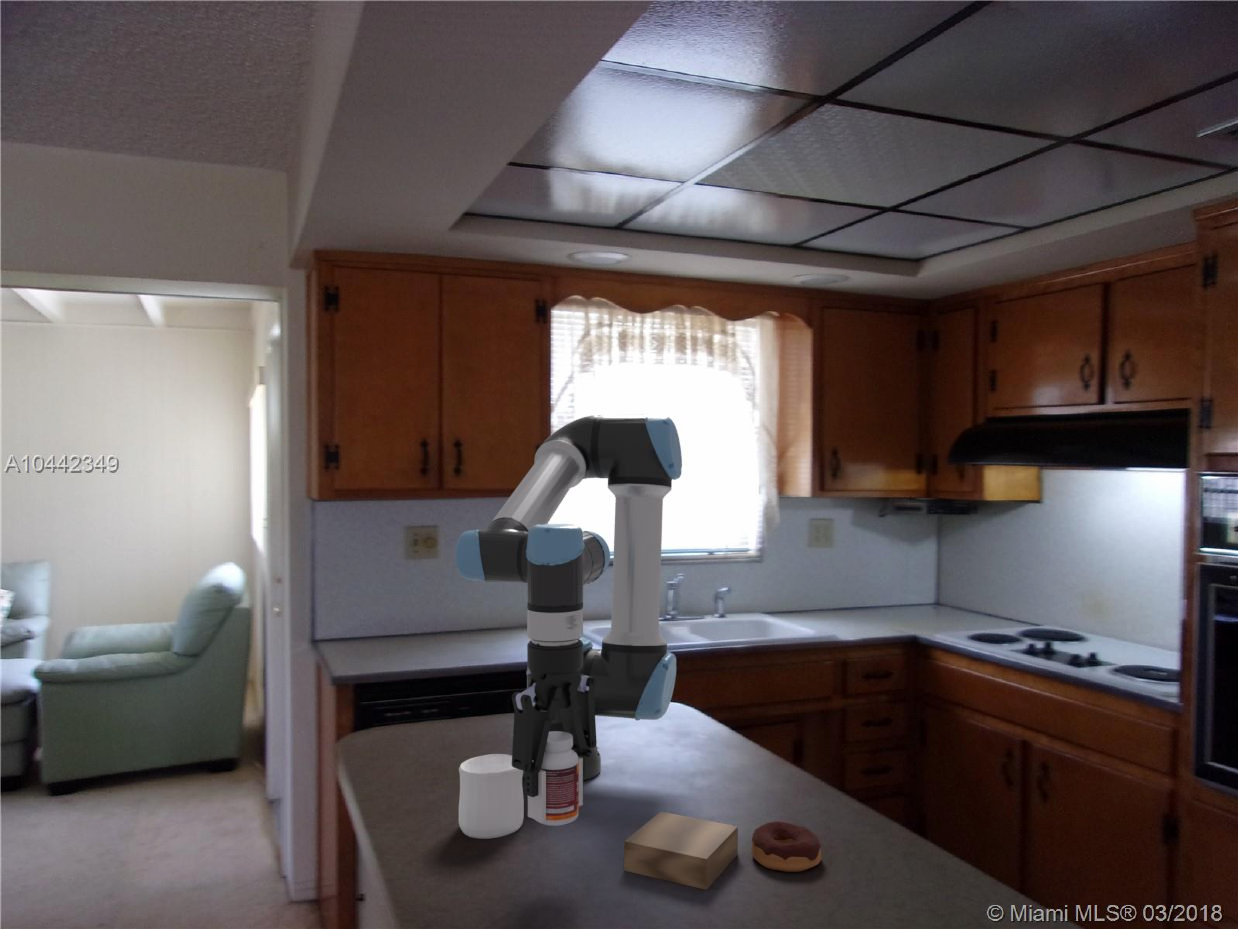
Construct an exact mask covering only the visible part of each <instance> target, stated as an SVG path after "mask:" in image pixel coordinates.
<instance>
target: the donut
mask: <svg viewBox="0 0 1238 929" xmlns="http://www.w3.org/2000/svg"><path fill="white" fill-rule="evenodd" d="M821 846H822V843H821V842H820V839H819V838H818V836H817V835H816V834H815V833H814V832H813V831H811V830H810V829H808V828H807V827H805V826H800V825H798V824H797V825H796V824H793V823H789V822H784V821H779V820H778V821H770V822H767V823H764V824H762V825H760V826H759V827H757V828H756V829H755V830H754V832H753V834H752V836H751V849H750V850H751V855H752V856H753V858H754V859H755V860H756V861H757V863H759V864H760V865H762V867H765V868H766V869H770V870H773V871H774V870H775V871H778V872H779V871H781V872H785V873H797V872H803V871H806V870H808V869H811V868H813V867H815V866H817V865H819V863H820V862H821V860H822V851H821Z"/></svg>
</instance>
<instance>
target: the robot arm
mask: <svg viewBox="0 0 1238 929" xmlns="http://www.w3.org/2000/svg"><path fill="white" fill-rule="evenodd" d="M680 442H681V440H680V437H679V433H678V430H677V427H676V424H675V423H674V421H673V419H671V418H670V417H669V416H666V415H661V414H659V415H657V414H649V413H645V414H616V415H615V414H614V415H613V414H611V415H608V414H607V415H604V414H603V415H601V414H600V415H589V416H588V415H587V416H583V417H581V418H578V419H575V420H573V421H571V422H570V423H567V424H566V425H563V426H562V427H560V428H559V429H558V430H556V431H554V432H553V433H552V434H550V436H548V437H547V438H546V439H545V440H544V441H543V442H542V444H541V445H540V446H539V447H538V449H537V450H536V453H535V455H534V460H533V461H534V464H533V465H532V466H531V468H530V469H529V470H528V472H527V473H526V475H525V476H524V477H523V478H522V480H521V481H520V483H519V484H518V485H517V487H515V489H514V491H513V492H512V493H511V495H510V496H509V497H508V499H507V500H506V502H505V503H504V505H502V506H501V508H500V509H499V511H498V513H497V514H496V515H495V517H494V518H493V519H492V521H491V522H490V523H489V524H488V525H487V527H486V528H485V529H484V530H482V529H480V528H479V529H478V528H477V529H475V530H473V529H472V530H471V529H470V530H466V531H463V532H462V533H461V534H460V536H459V537H458V539H457V542H456V545H455V551H454V562H455V565H456V566H455V567H456V570H457V573H458V574H459V575H460V577H461V578H463V579H465V580H467V581H468V580H469V581H476V582H478V581H479V582H484V583H489V582H491V583H493V582H494V583H522V584H523V583H524V584H526V586H527V587H526V588H527V592H526V593H527V606H526V607H527V613H526V617H527V618H526V619H527V621H526V622H527V624H526V637H527V638H528V639H529V641H528V643H527V646H526V647H527V648H526V649H527V652H526V653H527V654H526V655H527V657H526V658H527V659H526V660H527V669H526V671H525V672H526V673H525V674H526V689H525V690H523V691H522V692H517V691H515V692H513V693H512V694H511V700H512V705H513V709H514V712H513V714H514V716H513V735H512V747H511V748H512V751H511V755H512V767H514V768H517V769H519V770H522V771H523V776H522V779H524V793H525V795H526V796H527V817H528V818H531V819H533V820H535V821H536V820H537V821H540V822H544V821H546V771H544V770H541V766H542V762H543V757H544V753H545V748H546V744H547V739H548V735H549V732H552V731H562V732H567V733H570V734H571V735H572V736H573V746H572V748H571V749H572V750H573V751H575V752H576V753H577V755H578V783H579V807H581V806H583V804H584V802H583V801H584V798H583V797H584V792H583V790H584V788H583V787H584V781H586V780H589V779H592V778H594V777H596V776H597V775H599V773H601V770H602V765H601V764H602V763H601V762H602V758H601V754H600V752H599V750H598V746H597V729H596V726H597V724H596V717H606V718H607V717H608V718H620V719H633V720H635V721H640V720H645V721H646V720H649V721H652V720H653V721H655V720H659V719H661V718H663V717H664V716H665V714H666V713H667V710H668V709H669V707H670V704H671V702H672V701H671V700H672V697H673V693H674V688H675V684H676V678H677V677H676V676H677V657H676V655H675V654H674V653H672V652H670V651H668V641H667V640H666V639H665V638H664V636H662V634H661V633H660V608H661V607H660V604H661V603H660V601H661V600H660V599H661V597H660V596H661V574H662V572H661V570H662V568H661V567H662V544H663V543H662V540H663V539H662V538H663V510H664V509H663V507H664V506H663V504H664V502H663V501H664V498H665V497H666V496H667V495H668V494H669V493H670V492H671V491H672V484H673V482H672V481H676V480H678V479H680V478H681V475H682V467H683V458H682V449H681V443H680ZM585 479H586V480H587V479H607V488H608V489H609V491H610V492H611V493H612V494H613V496H614V497H615V504H614V505H615V508H614V510H615V511H614V532H613V533H614V534H613V539H614V540H613V562H612V563H613V568H612V590H611V591H612V594H611V617H610V618H611V622H610V624H611V625H610V631H609V632H608V633H607V634H606V636H604V637H603V638H602V639H601V648H593V646H594V645H593V643H592V640H591V639H589V638H582V637H583V636H584V585H587V584H591V583H594V582H595V581H597V580H598V579H600V577H601V576H602V575H604V573H605V572H606V571H607V569H608V567H609V566H610V562H611V561H610V560H611V551H610V548H609V545H608V543H607V541H606V539H604V538H603V536H601V535H600V534H598V533H596V532H593V531H590V530H582V528H581V527H580V526H578V524H573V523H572V524H571V523H549V522H550V521H551V519H552V518H553V516H554V514H555V513H556V511H557V510H558V508H559V507H560V505H561V503H562V501H563V500H564V498H565V497H566V495H567V493H568V492H569V491H570V489H571V488H574V487H577V485H579V484H580V483H581V482H582V481H583V480H585ZM608 489H607V490H608ZM537 821H536V822H537Z"/></svg>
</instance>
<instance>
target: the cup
mask: <svg viewBox="0 0 1238 929" xmlns="http://www.w3.org/2000/svg"><path fill="white" fill-rule="evenodd" d="M458 772H459V799H458V801H459V802H458V825H459V828H460V830H461V832H462V833H463V834H464V835H466V836H467V837H469V838H473V839H479V840H480V839H481V840H488V839H489V840H490V839H495V838H501V837H505V836H507V835H510V834H513V833H516V832H517V831H518V830H519V829H520V828H521V827H522V825H523V822H524V818H525V817H524V816H525V815H524V812H525V809H524V808H525V806H524V805H525V804H524V803H525V802H524V791H523V777H522V776H523V771H522V770H519V769H517V768H514V767H512V754H505V753H504V754H503V753H491V754H489V753H488V754H484V755H479V756H475V757H471V758H469V759H466V760H465V761H463V762H461V764H460V766H459V768H458Z"/></svg>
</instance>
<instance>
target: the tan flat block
mask: <svg viewBox="0 0 1238 929" xmlns="http://www.w3.org/2000/svg"><path fill="white" fill-rule="evenodd" d="M738 827H739V826H736V825H732V824H727V823H722V822H716V821H712V820H711V821H710V820H706V819H701V818H696V817H690V816H686V815H682V814H675V813H671V812H665V811H660V812H658V813H657V814H656V815H655V816H653V817H652V818H651V819H649V820H648V821H647V822H646V823H645V824H643V825H642V827H639V829H638V830H636V831H635V832H633V834H631V835H630V836H629V837H628V838H626V839H625V840H624V843H623V845H624V846H623V847H624V848H623V850H624V851H623V854H624V855H623V856H624V858H623V859H624V860H623V871H625V872H628V873H629V872H630V873H633V874H637V875H642V876H645V877H650V878H654V879H659V880H663V881H667V882H672V883H674V884H675V883H676V884H680V885H683V886H684V885H685V886H689V887H692V888H698V889H701V890H705V891H707V890H708V889H709V888H710V887H711V885H712V884H713V883H714V882H715V881H716V880H717V879H718V878H719V876H721V874H722V873H723V872H724V871H725V870H726V869H727V867H728V866H729V865H730V864H731V862H733V861H734V860H735V859H736V858H737V856H738V855H739V849H738V848H739V847H738V846H739V845H738V844H739V842H738V841H739V832H738V831H739V828H738Z"/></svg>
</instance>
